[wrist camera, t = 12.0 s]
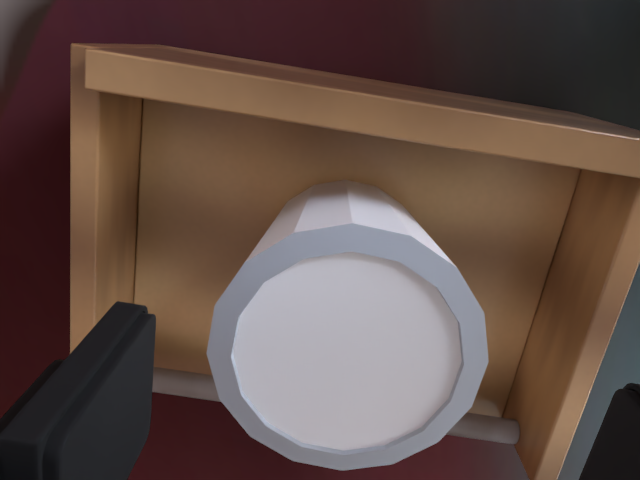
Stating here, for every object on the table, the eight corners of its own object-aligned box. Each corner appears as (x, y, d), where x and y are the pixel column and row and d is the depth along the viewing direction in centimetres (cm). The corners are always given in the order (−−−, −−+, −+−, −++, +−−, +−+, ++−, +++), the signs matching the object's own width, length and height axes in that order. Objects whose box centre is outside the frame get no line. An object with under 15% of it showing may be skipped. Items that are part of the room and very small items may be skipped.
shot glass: (472, 209, 19) (546, 295, 12) (386, 364, 21) (410, 507, 15) (291, 129, 18) (267, 176, 12) (221, 299, 20) (167, 418, 14)
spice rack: (494, 368, 26) (566, 513, 18) (143, 316, 25) (54, 441, 17) (572, 111, 22) (710, 149, 14) (156, 44, 21) (51, 42, 13)
